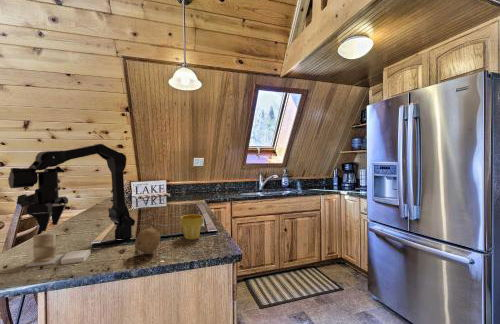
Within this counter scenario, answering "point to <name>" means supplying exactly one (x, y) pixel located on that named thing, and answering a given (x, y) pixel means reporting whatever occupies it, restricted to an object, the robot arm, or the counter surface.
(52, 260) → the rest mat
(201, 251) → the counter surface
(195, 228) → the plant pot
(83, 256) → the tile
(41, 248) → the tan upright block
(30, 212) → the robot arm
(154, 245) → the natural sponge
